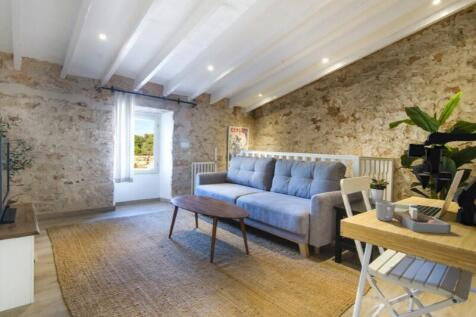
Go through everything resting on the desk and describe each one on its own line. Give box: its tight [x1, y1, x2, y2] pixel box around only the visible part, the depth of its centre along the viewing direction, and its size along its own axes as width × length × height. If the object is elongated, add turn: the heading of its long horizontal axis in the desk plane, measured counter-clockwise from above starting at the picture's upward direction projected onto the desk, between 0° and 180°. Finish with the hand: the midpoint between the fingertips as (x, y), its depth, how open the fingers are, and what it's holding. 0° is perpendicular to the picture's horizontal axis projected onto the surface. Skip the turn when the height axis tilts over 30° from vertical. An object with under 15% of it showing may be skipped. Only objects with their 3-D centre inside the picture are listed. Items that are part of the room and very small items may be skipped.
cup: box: [375, 200, 397, 222], centre depth 117 cm, size 11×8×8 cm
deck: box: [393, 210, 433, 224], centre depth 118 cm, size 14×13×3 cm
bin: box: [401, 217, 452, 234], centre depth 108 cm, size 14×8×4 cm, turn 87°
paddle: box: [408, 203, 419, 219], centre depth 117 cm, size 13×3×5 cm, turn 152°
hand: (430, 191), depth 123 cm, fingers open, 9 cm apart
